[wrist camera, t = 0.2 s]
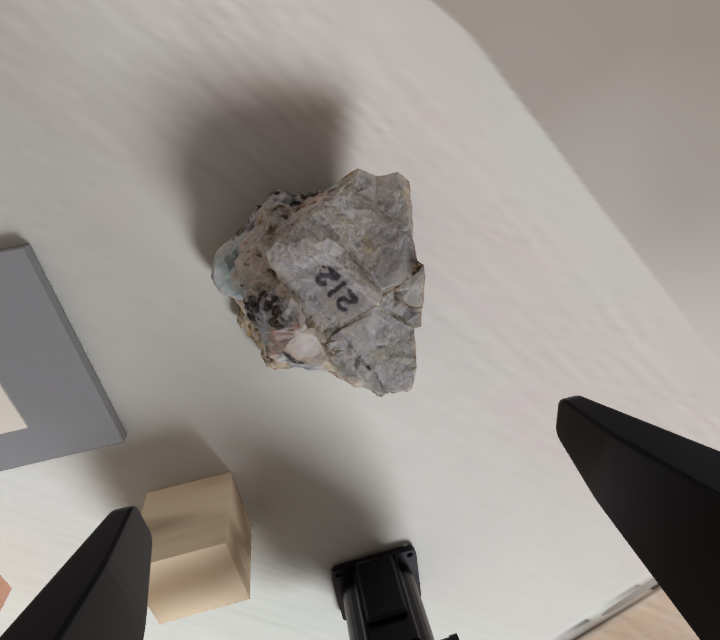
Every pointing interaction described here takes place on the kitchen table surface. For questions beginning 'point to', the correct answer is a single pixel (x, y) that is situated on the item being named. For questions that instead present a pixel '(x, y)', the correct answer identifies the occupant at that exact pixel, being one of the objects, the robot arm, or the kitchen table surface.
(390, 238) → the mineral specimen
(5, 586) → the terracotta cube
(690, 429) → the kitchen table surface
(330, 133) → the kitchen table surface
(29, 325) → the slate board
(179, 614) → the beech cube
